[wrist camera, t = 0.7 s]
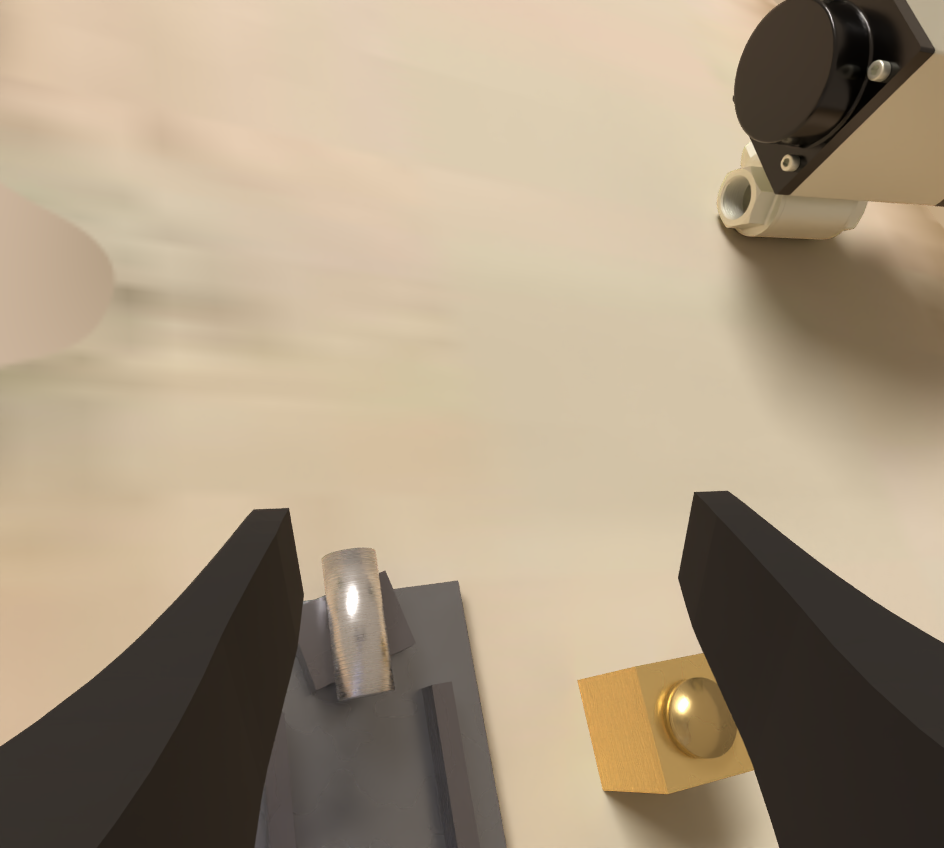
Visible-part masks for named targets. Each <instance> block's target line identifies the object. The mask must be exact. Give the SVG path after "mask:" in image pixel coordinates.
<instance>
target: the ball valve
mask: <svg viewBox="0 0 944 848" xmlns="http://www.w3.org/2000/svg"><path fill="white" fill-rule="evenodd" d="M733 101H734V104H735V110H736V114H737V118H738V120H739V123H740V125H741V127H742V128H743V130H744V131H745V132H746V133H747V135H748V136H749V137H750V140H751V141H750V142H749V143H748V144H747V145H746V146H745V147H744V150H743V153H742V157H741V168H740V169H737V170H734V171H731V172H729V173H727V175H726V177H725V179H724V181H723V183H722V185H721V187H720V190H719V194H718V198H717V209H718V212H719V215H720V217H721V219H722V221H723V223H724V225H725V226H726V228H735V229H736V230H737V231H738V232H739V233H740V234H742V235H745V236H754V237H777V238H799V239H821V240H824V239H830V238H833V237H835V236H837V235H838V234H840V233H841V232H842V231H846V230H851V229H854V228H855V227H856V225H857V224H858V222H859V220H860V219H861V217H862V215H863V213H864V211H865V208H866V205H867V202H868V201H872V202H886V203H900V204H913V205H927V206H941V207H944V0H786V1H784V2H782V3H780V4H779V5H777V6H776V7H775V8H773V9H772V10H771V11H770V12H769V13H768V14H767V15H766V16H765V17H764V18H763V19H762V20H761V22H760V23H759V24H758V26H757V27H756V29H755V30H754V32H753V33H752V35H751V37H750V38H749V40H748V42H747V44H746V46H745V48H744V51H743V53H742V56H741V58H740V61H739V65H738V68H737V73H736V78H735V85H734V96H733Z"/></svg>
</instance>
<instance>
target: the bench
mask: <svg viewBox="0 0 944 848" xmlns="http://www.w3.org/2000/svg"><path fill="white" fill-rule="evenodd" d="M322 567H323V576H324V585H325V594H326V595H325V596H322V597H320V598H318V599H315V600H308V601H303V607H302V616H301V625H300V632H299V640H298V648H297V652H296V656H295V660H294V664H293V669H292V673H291V677H290V681H289V685H288V689H287V693H286V697H285V701H284V705H283V709H282V713H281V717H280V721H279V725H278V729H277V733H276V737H275V741H274V745H273V749H272V753H271V757H270V761H269V765H268V769H267V774H266V779H265V784H264V789H263V794H262V800H261V807H260V814H259V821H258V827H257V834H256V841H255V848H507V847H506V842H505V836H504V831H503V825H502V820H501V814H500V809H499V803H498V798H497V792H496V787H495V781H494V776H493V770H492V765H491V759H490V754H489V748H488V743H487V737H486V732H485V726H484V721H483V715H482V710H481V704H480V699H479V693H478V688H477V682H476V677H475V671H474V665H473V660H472V654H471V649H470V643H469V638H468V632H467V627H466V621H465V616H464V610H463V605H462V599H461V594H460V588H459V583H458V581H451V582H444V583H436V584H429V585H421V586H414V587H406V588H399V589H393V588H392V585H391V583H390V581H389V578H388V576H387V574H386V571H383V572H381V573H378V565H377V558H376V551H375V550H374V549H372V548H352V549H346V550H341V551H336V552H333V553H330V554H327V555H325V556H324V557H323V558H322Z"/></svg>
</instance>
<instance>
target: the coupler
mask: <svg viewBox="0 0 944 848" xmlns="http://www.w3.org/2000/svg"><path fill="white" fill-rule="evenodd" d="M578 685H579V689H580V693H581V698H582V702H583V706H584V711H585V715H586V719H587V724H588V728H589V732H590V736H591V741H592V745H593V749H594V754H595V758H596V762H597V767H598V771H599V775H600V780H601V784H602V788H603V790H605V791H623V792H641V793H659V794H670V793H674V792H678V791H681V790H685V789H688V788H692V787H695V786H699V785H703V784H706V783H710V782H713V781H717V780H720V779H724V778H728V777H731V776H735V775H738V774H742V773H745V772H749V771H753V770H754V768H753V765H752V763H751V760H750V758H749V755H748V752H747V750H746V747H745V745H744V742H743V740H742V738H741V735H740V733H739V731H738V729H737V727H736V724H735V722H734V720H733V718H732V715H731V713H730V711H729V709H728V707H727V704H726V702H725V700H724V698H723V695H722V693H721V691H720V689H719V687H718V684H717V682H716V680H715V678H714V675H713V673H712V671H711V669H710V667H709V664H708V662H707V660H706V657H705V655H704V653H701V654H696V655H691V656H686V657H681V658H676V659H671V660H666V661H661V662H656V663H651V664H646V665H641V666H636V667H631V668H627V669H623V670H619V671H615V672H610V673H606V674H602V675H598V676H593V677H589V678H585V679H581V680H578Z"/></svg>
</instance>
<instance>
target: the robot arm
mask: <svg viewBox="0 0 944 848" xmlns="http://www.w3.org/2000/svg"><path fill="white" fill-rule="evenodd" d="M678 579H679V583H680V586H681V590H682V594H683V597H684V601H685V604H686V608H687V611H688V614H689V617H690V621H691V624H692V627H693V630H694V632H695V634H696V637H697V639H698V642H699V644H700V646H701V648H702V651H703V653H704V655H705V657H706V660H707V662H708V664H709V667H710V669H711V671H712V673H713V675H714V678H715V680H716V682H717V684H718V687H719V689H720V691H721V693H722V695H723V698H724V700H725V702H726V704H727V707H728V709H729V711H730V713H731V715H732V718H733V720H734V722H735V724H736V727H737V729H738V731H739V733H740V735H741V738H742V740H743V742H744V745H745V747H746V750H747V752H748V755H749V758H750V760H751V763H752V765H753V768H754V771H755V774H756V777H757V780H758V783H759V786H760V789H761V792H762V795H763V798H764V801H765V804H766V807H767V810H768V813H769V816H770V819H771V822H772V825H773V829H774V832H775V835H776V838H777V842H778V845H779V848H944V643H943V642H941V641H939V640H937V639H936V638H934V637H932V636H930V635H929V634H927V633H925V632H924V631H922V630H920V629H919V628H917V627H915V626H914V625H912V624H910V623H909V622H907V621H905V620H904V619H902V618H900V617H899V616H897V615H895V614H894V613H892V612H890V611H889V610H887V609H886V608H884V607H883V606H881V605H879V604H878V603H876V602H875V601H873V600H872V599H870V598H869V597H868V596H866V595H865V594H863V593H862V592H860V591H859V590H857V589H856V588H854V587H853V586H852V585H850V584H849V583H847V582H846V581H844V580H843V579H841V578H840V577H839V576H837V575H836V574H835V573H833V572H832V571H830V570H829V569H828V568H826V567H825V566H824V565H822V564H821V563H820V562H818V561H817V560H816V559H814V558H813V557H812V556H810V555H809V554H808V553H806V552H805V551H804V550H803V549H801V548H800V547H799V546H797V545H796V544H795V543H794V542H792V541H791V540H790V539H788V538H787V537H786V536H785V535H783V534H782V533H781V532H780V531H778V530H777V529H776V528H775V527H773V526H772V525H771V524H770V523H768V522H767V521H766V520H765V519H763V518H762V517H761V516H760V515H758V514H757V513H756V512H755V511H753V510H752V509H751V508H750V507H748V506H747V505H746V504H745V503H743V502H742V501H741V500H739V499H738V498H737V497H735V496H734V495H733V494H731V493H730V492H729V491H711V492H694V496H693V501H692V507H691V512H690V517H689V523H688V528H687V533H686V539H685V544H684V549H683V555H682V560H681V565H680V571H679V576H678ZM303 598H304V593H303V587H302V581H301V575H300V570H299V564H298V558H297V552H296V546H295V541H294V535H293V529H292V523H291V517H290V511H289V508H281V509H256V510H253V511H252V512H251V513H250V514H249V515H248V516H247V517H246V519H245V520H244V521H243V522H242V523H241V525H240V526H239V527H238V528H237V530H236V531H235V532H234V533H233V535H232V536H231V537H230V538H229V539H228V541H227V542H226V543H225V544H224V546H223V547H222V548H221V549H220V550H219V552H218V553H217V554H216V555H215V556H214V558H213V559H212V560H211V561H210V562H209V563H208V565H207V566H206V567H205V568H204V569H203V570H202V571H201V573H200V574H199V575H198V576H197V577H196V578H195V579H194V580H193V582H192V583H191V584H190V585H189V586H188V587H187V588H186V590H185V591H184V592H183V593H182V594H181V595H180V596H179V597H178V598H177V599H176V600H175V601H174V602H173V604H172V605H171V606H170V607H169V608H168V609H167V610H166V611H165V612H164V613H163V614H162V615H161V616H160V617H159V618H158V619H157V620H156V621H155V622H154V623H153V624H152V625H151V626H150V627H149V628H148V629H147V630H146V631H145V632H144V633H143V634H142V635H141V636H140V637H139V638H138V639H137V640H136V641H135V642H134V643H133V644H132V645H130V646H129V647H128V648H127V649H126V650H125V651H124V652H123V653H122V654H121V655H120V656H118V657H117V658H116V659H115V660H114V661H113V662H112V663H110V664H109V665H108V666H107V667H106V668H105V669H103V670H102V671H101V672H100V673H99V674H98V675H96V676H95V677H94V678H93V679H92V680H90V681H89V682H88V683H86V684H85V685H84V686H83V687H81V688H80V689H79V690H77V691H76V692H75V693H73V694H72V695H71V696H69V697H68V698H67V699H66V700H64V701H63V702H62V703H60V704H59V705H58V706H56V707H55V708H54V709H52V710H51V711H50V712H48V713H47V714H46V715H45V716H43V717H42V718H41V719H39V720H38V721H37V722H35V723H34V724H32V725H31V726H30V727H28V728H27V729H25V730H24V731H22V732H21V733H19V734H18V735H17V736H15V737H14V738H12V739H11V740H9V741H8V742H6V743H5V744H3V745H2V746H0V848H255V841H256V834H257V827H258V821H259V814H260V807H261V800H262V794H263V789H264V784H265V779H266V774H267V769H268V765H269V761H270V757H271V753H272V749H273V745H274V741H275V737H276V733H277V729H278V725H279V721H280V717H281V713H282V709H283V705H284V701H285V697H286V693H287V689H288V685H289V681H290V677H291V673H292V669H293V664H294V660H295V656H296V652H297V648H298V640H299V632H300V625H301V616H302V607H303Z"/></svg>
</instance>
